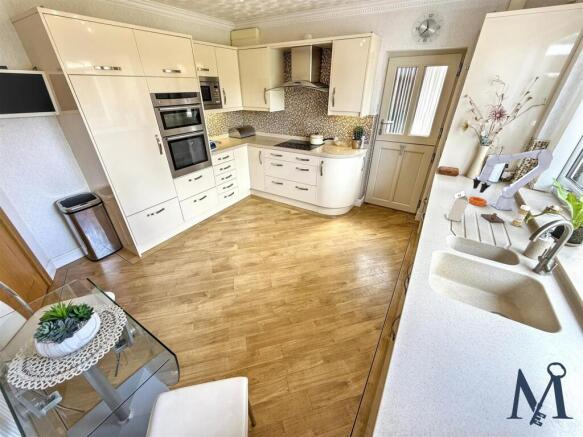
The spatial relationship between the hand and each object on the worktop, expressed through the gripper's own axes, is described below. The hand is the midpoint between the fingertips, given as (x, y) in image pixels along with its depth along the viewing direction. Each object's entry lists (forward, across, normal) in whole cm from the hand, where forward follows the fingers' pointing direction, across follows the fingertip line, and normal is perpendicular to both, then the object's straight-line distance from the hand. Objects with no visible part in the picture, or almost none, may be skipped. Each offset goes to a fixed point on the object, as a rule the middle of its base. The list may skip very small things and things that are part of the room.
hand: (477, 190), depth 176 cm
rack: (+8, +29, -6) cm, 31 cm away
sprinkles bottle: (+9, +35, +5) cm, 37 cm away
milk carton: (+9, +31, -33) cm, 46 cm away
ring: (+8, +4, 0) cm, 9 cm away
